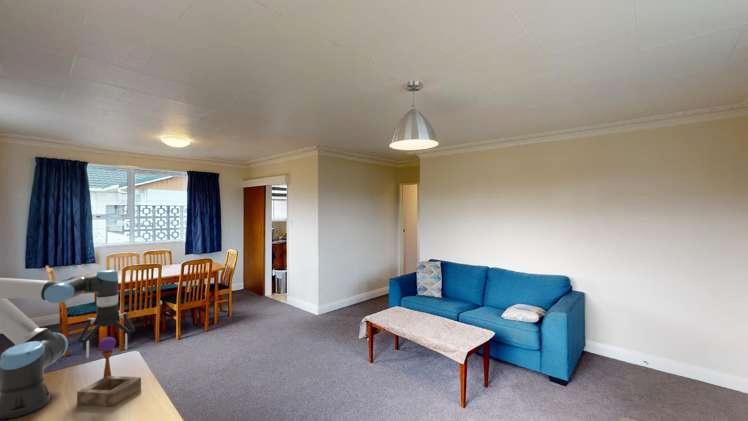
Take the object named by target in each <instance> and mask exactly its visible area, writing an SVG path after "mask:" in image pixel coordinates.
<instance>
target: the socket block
mask: <svg viewBox="0 0 748 421" xmlns="http://www.w3.org/2000/svg"><path fill="white" fill-rule="evenodd" d="M103 377H104V376H103ZM103 377H102V378H101V379H99V380H96V381H95V382H93V383H91V384H90V385H87V386H85V387H84V388H82V389H79V390H77V392H76V405H77V406H93V407H96V406H97V407H116V406H118V404H120V403H121V402H123V401H125V400H126V399H128V398H129V397H131V396H133V395H134V394H136V393H137V392H139V391H140V390H142V377H141V376H139V377H138V376H118V375H111V376H106V377H104V378H103Z"/></svg>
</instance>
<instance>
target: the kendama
mask: <svg viewBox="0 0 748 421" xmlns="http://www.w3.org/2000/svg"><path fill="white" fill-rule="evenodd" d="M116 343H117V341H116V338H115V337H112V336H107V337H106V336H105V338H102V339H101V340H100V341H99V343H98V349H99V350H100V351H101V355H102V357H103V358H104V359H105V364H104V370H103V377H102V378H104V377H106V376H112V371H111V366H110V365H111V364H110V358H111V357H112V356H111V355H112V354H113V352H114V348H115V347H116Z"/></svg>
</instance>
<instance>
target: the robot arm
mask: <svg viewBox="0 0 748 421" xmlns="http://www.w3.org/2000/svg"><path fill="white" fill-rule="evenodd" d="M118 274H119V273H118V270H116V269H104V270H99V271H97V272H96V274H95V275H86V276H76V275H75V276H69V277H65V278H63V280H62V281H60V280H59V281H58V280H46V279H45V280H44V279H30V278H29V279H26V278H13V277H11V278H10V277H9V278H8V277H0V333H1V334H3V335H4V336H5V337H6V338H7V339H8V340H10V341H11V342H12V343H13V344H14V345H13V346H11V347H9V348H7V349H6V350H4V351H3V352H2V354H1V355H0V418H3V419H2V420H5V419H4V418H9V419H13V418H17V417H18V418H19V417H21V416H24V415H27V414H30V413H33V412H34V411H35V412H36V411H38V410H40V409H41V408H43V407H44V406H46V405H47V404H48V403H49V402H50V401H51V395H50V392H49V389H48V387H47V385H46V384H45V369H46V368H47V367H49V366H51V365H52V364H53V363H55V362H57V361H58V360H60V358H62V356H64V354H66V352H67V350H68V347H69V341H68V338H67V337H66V336H65V335H64V334H62V333H60V332H52V331H51V330H50V329H49V328H46V327H40V326H38V325H37V324H36V323H35V322H34V321H33V320H31V318H29V317H28V316H27V315H26V313H25V314H24V312H22V311H21V310H20V309H19V308H18V307H17V306H16V305H14V304H13V302H11V301H10V299H13V300H15V299H16V300H33V301H34V300H37V301H47V302H49V303H50V304H51V303H52V304H59V303H64V302H67V301H68V300H70V299H73V298H75V297H77V296H80V295H86V294H95V293H96V317H93V318H91V317H88V318H87V321H86V325H85V326H84V328H83V330H82V331H81V333H80V335H79V337H78V338H77V341H76V342H77V343H82V351H86V353H85V354H86V356H85V358H86V359H89V358H90V339H91V338H92V336H93V335H94V334H95V333H96V332H97V331H98V330H99V329H100V327H103V328H105V327H109V326H110V327H111V326H113V325H115V326H116V327H118V328H119V329H121V330H122V331H123V332H124V333H125V334H124V351H125V350H128V342H130V341H131V334H133V333H135V332H136V329H135V327H134V325H133V324H132V322H131V321H130V319H129V318H128V316H127V312H125V311H124V312H123V313H120V314H119V275H118ZM119 318H121V319H122V320H124V322H125V323H126V325H127V326H128V328H129V329H128V328H127V327H126V326H124V325H123V324H122V323H121V322H119V320H118V319H119ZM94 322H96V323H97V324H96V325H95V326H94V327H93V329H92V330H91V331H90V332H89V333H88V334H87V335H86V333H87V332H88V330H89V328H90V326H91V324H93V323H94ZM85 335H86V336H85ZM84 336H85V337H84Z"/></svg>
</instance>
